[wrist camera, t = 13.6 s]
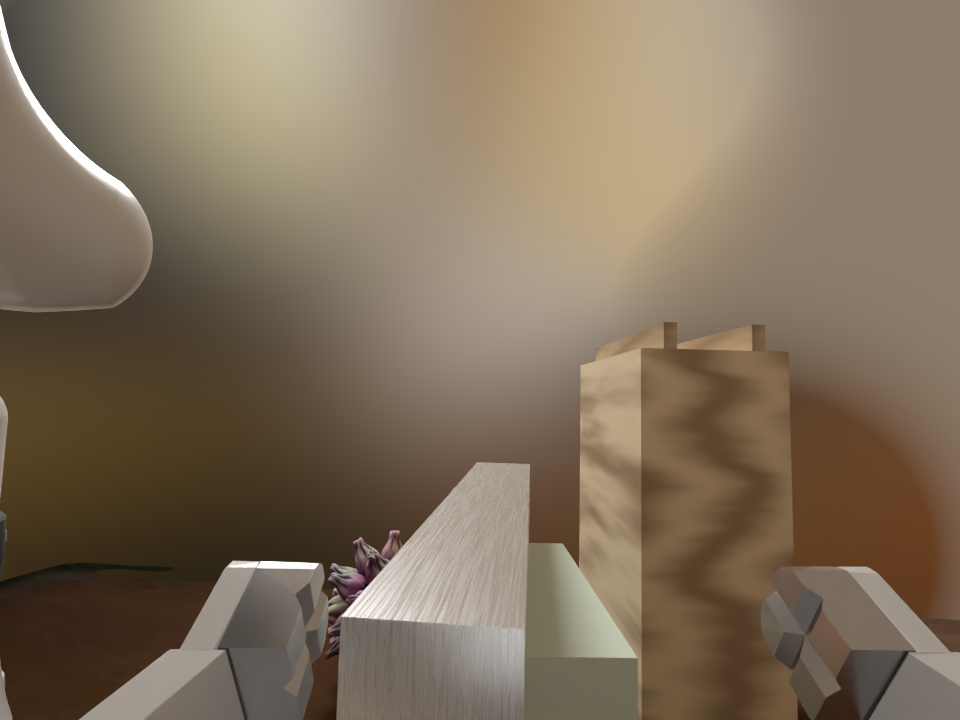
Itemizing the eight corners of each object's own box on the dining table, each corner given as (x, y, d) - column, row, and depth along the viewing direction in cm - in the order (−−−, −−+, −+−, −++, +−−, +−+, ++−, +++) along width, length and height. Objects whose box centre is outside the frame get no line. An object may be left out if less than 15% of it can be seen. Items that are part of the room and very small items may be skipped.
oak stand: (641, 809, 28) (640, 321, 30) (578, 660, 44) (580, 348, 46) (800, 809, 28) (787, 325, 30) (680, 661, 44) (677, 350, 46)
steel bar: (522, 833, 9) (332, 812, 9) (529, 518, 33) (476, 515, 33) (525, 629, 9) (340, 616, 10) (529, 464, 33) (477, 462, 33)
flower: (416, 754, 32) (422, 562, 33) (275, 704, 37) (284, 538, 38) (487, 667, 42) (490, 524, 43) (370, 637, 47) (375, 509, 48)
